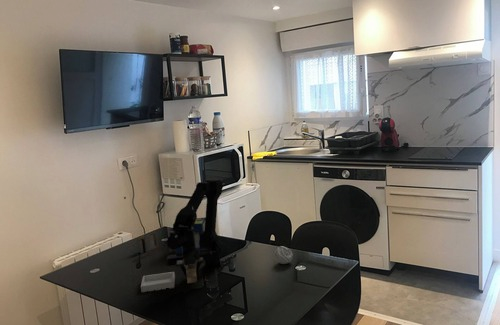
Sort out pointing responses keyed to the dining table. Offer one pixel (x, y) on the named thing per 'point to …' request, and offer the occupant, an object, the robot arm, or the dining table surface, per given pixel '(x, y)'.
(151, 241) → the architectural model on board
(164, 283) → the housing tray
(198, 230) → the protein box
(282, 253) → the grey streaked ball
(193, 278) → the brown block
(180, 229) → the robot arm
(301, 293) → the dining table surface
